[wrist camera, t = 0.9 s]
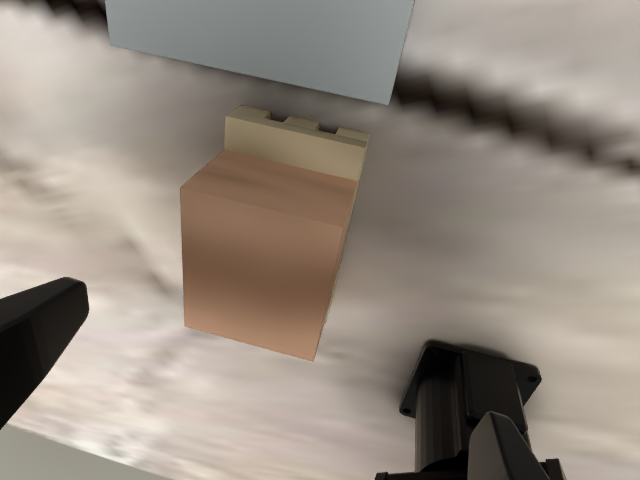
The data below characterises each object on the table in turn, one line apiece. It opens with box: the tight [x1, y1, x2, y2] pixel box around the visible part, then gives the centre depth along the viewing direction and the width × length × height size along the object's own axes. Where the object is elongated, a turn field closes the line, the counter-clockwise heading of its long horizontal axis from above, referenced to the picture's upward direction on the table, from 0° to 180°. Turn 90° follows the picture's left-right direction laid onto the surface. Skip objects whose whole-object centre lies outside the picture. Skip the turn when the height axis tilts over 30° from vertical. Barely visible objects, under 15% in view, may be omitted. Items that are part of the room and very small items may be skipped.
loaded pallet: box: [180, 105, 370, 361], centre depth 19 cm, size 10×6×6 cm, turn 171°
